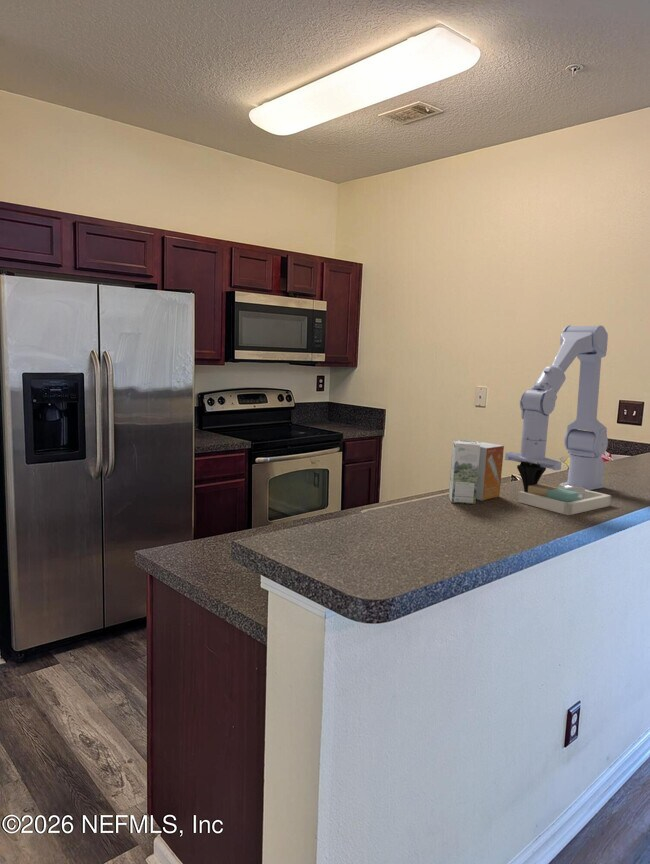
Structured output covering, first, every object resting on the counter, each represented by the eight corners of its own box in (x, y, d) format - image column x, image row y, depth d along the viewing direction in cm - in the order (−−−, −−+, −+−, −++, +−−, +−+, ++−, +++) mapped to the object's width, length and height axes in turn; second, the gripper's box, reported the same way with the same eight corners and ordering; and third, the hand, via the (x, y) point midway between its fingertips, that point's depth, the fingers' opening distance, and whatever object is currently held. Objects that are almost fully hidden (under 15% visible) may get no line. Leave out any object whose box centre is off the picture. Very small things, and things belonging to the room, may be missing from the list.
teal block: (557, 504, 146) (559, 488, 146) (576, 509, 143) (578, 492, 142) (545, 507, 144) (546, 490, 143) (564, 512, 140) (566, 495, 139)
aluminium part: (569, 498, 153) (570, 482, 153) (587, 503, 149) (589, 487, 149) (557, 500, 150) (559, 485, 150) (576, 505, 146) (577, 489, 146)
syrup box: (472, 498, 148) (476, 439, 146) (475, 505, 142) (480, 443, 140) (448, 497, 149) (452, 438, 147) (451, 503, 143) (455, 442, 141)
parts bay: (560, 493, 158) (561, 484, 157) (610, 505, 147) (611, 495, 147) (517, 501, 147) (518, 491, 147) (568, 515, 136) (569, 504, 136)
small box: (482, 501, 146) (487, 447, 144) (460, 496, 151) (464, 444, 149) (500, 496, 152) (504, 445, 150) (478, 491, 156) (482, 441, 154)
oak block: (539, 499, 150) (540, 483, 150) (557, 504, 146) (558, 487, 146) (526, 501, 147) (528, 485, 147) (544, 506, 143) (546, 490, 143)
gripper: (499, 435, 151) (494, 489, 153) (551, 444, 140) (545, 502, 142) (516, 434, 155) (512, 486, 157) (568, 442, 144) (562, 498, 146)
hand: (529, 493), depth 150 cm, fingers closed
